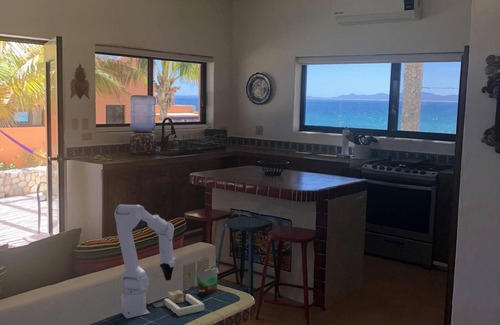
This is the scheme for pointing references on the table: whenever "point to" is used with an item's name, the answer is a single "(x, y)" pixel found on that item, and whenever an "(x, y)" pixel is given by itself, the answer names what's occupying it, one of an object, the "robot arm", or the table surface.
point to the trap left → (159, 304)
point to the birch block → (176, 296)
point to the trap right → (195, 296)
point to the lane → (179, 311)
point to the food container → (207, 280)
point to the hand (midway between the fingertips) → (168, 279)
